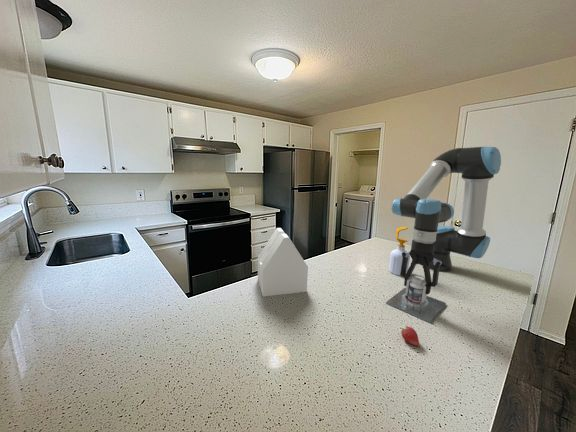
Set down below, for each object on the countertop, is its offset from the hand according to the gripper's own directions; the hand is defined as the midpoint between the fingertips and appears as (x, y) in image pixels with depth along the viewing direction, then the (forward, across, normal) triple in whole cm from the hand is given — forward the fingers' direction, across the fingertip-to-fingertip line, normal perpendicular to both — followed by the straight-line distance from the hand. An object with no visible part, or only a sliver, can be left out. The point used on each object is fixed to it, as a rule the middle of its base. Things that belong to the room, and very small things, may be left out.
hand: (415, 297), depth 92 cm
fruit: (+4, +7, -22) cm, 24 cm away
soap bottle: (+4, -18, +27) cm, 33 cm away
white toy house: (+4, -46, -30) cm, 55 cm away
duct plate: (+4, 0, +2) cm, 4 cm away
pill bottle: (+1, 0, 0) cm, 1 cm away
